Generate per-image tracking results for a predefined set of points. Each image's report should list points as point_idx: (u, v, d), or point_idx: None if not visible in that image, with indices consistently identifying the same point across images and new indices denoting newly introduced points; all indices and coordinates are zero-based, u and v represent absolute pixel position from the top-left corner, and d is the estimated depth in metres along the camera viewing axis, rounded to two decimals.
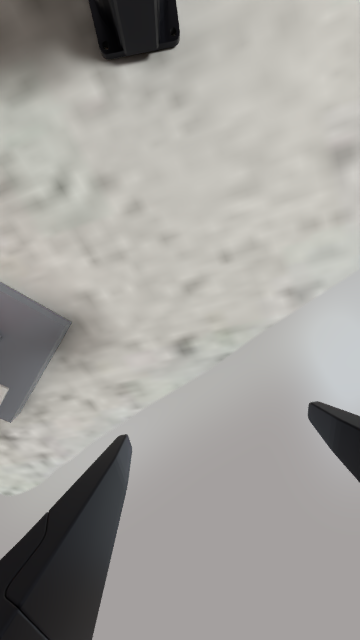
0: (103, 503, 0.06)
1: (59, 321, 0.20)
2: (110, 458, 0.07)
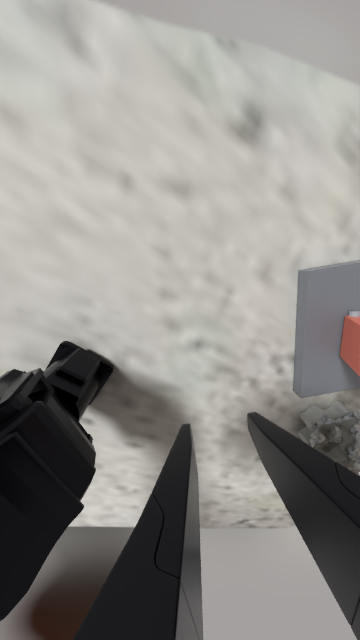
0: (193, 487, 0.06)
1: (305, 278, 0.19)
2: (187, 445, 0.07)
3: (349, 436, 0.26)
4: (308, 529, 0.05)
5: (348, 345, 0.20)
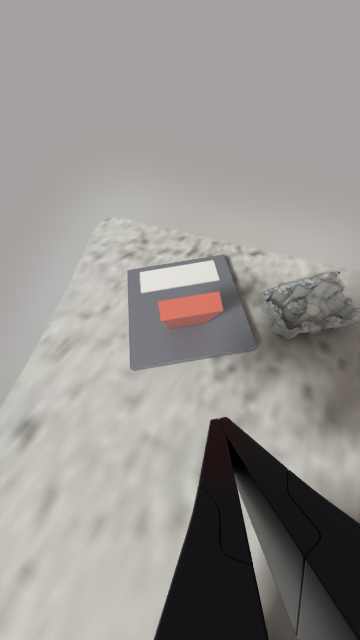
0: None
1: (137, 367, 0.23)
2: (222, 439, 0.07)
3: (296, 287, 0.26)
4: (263, 537, 0.05)
5: (191, 324, 0.23)
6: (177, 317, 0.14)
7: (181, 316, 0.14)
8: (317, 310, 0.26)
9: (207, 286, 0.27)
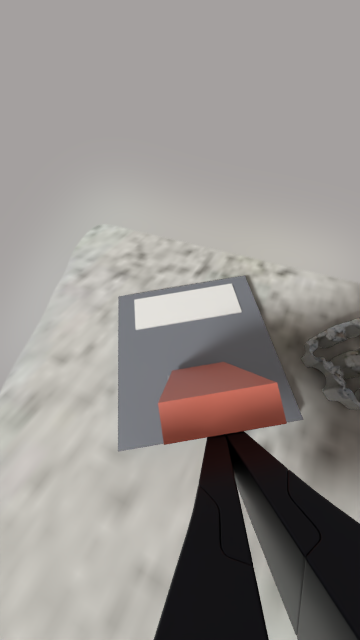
0: None
1: (128, 448, 0.16)
2: (222, 438, 0.07)
3: (346, 327, 0.19)
4: (263, 537, 0.05)
5: None
6: (196, 436, 0.07)
7: (204, 435, 0.07)
8: None
9: (225, 321, 0.20)
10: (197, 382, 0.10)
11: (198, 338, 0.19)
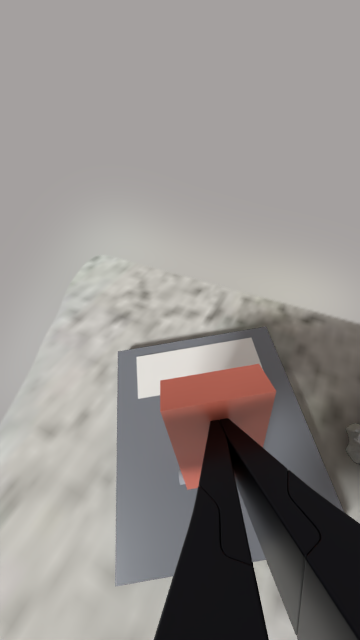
0: None
1: (129, 579, 0.12)
2: (222, 439, 0.07)
3: None
4: (263, 537, 0.05)
5: None
6: (191, 404, 0.08)
7: (198, 402, 0.08)
8: None
9: None
10: None
11: None
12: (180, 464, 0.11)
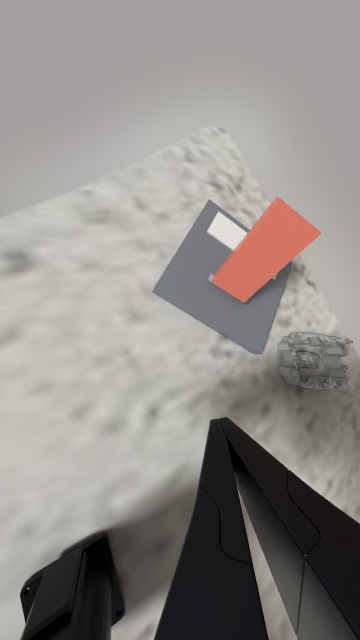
0: None
1: (159, 292, 0.21)
2: (222, 439, 0.07)
3: None
4: (263, 537, 0.05)
5: (238, 286, 0.22)
6: (291, 208, 0.16)
7: (294, 210, 0.16)
8: None
9: None
10: None
11: None
12: (236, 252, 0.19)
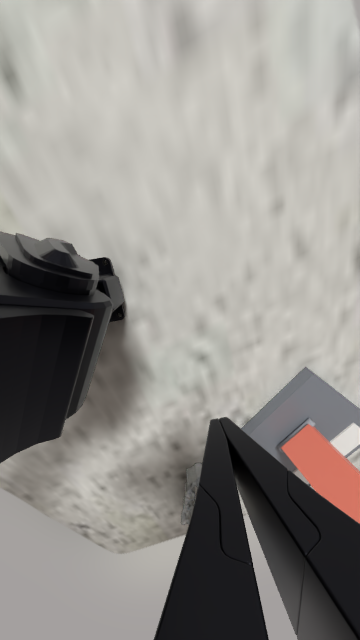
0: None
1: (307, 376, 0.23)
2: (222, 438, 0.07)
3: None
4: (263, 537, 0.05)
5: (302, 449, 0.23)
6: None
7: None
8: None
9: None
10: None
11: None
12: (344, 461, 0.21)
